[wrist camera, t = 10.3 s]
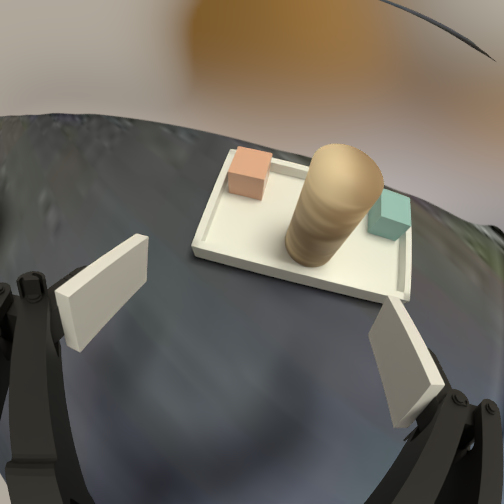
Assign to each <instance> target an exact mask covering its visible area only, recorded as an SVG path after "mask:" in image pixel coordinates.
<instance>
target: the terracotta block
mask: <svg viewBox="0 0 504 504" xmlns="http://www.w3.org/2000/svg"><path fill="white" fill-rule="evenodd" d="M271 160H272V153H268V152H263V151H259V150H254V149H249V148H244V147H239V146H238V148H237V151H236V153H235V155H234V158H233V160H232V163H231V165H230V168H229V170H228V187H229V193H232V194H236V195H240V196H245V197H249V198H253V199H257V200H261V201H262V198H263V195H264V191H265V188H266V184H267V181H268V178H269V174H270V167H271Z"/></svg>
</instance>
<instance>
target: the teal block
mask: <svg viewBox="0 0 504 504" xmlns="http://www.w3.org/2000/svg"><path fill="white" fill-rule="evenodd" d="M410 227H411V210H410V198H408V197H406V196H403V195H400V194H397V193H395V192H392V191H389V190H386V189H383V191H382V194H381V195H380V197H379V198H378V200H377V201H376V202H375V203H374V205H373V206H372V207H371V209H370V210H369V211H368V229H367V233H370V234H374V235H377V236H380V237H383V238H387V239H390V240H393V241H396V240H397V239H398V238H399V237H400V236H402V235H403V234H404V233H405V232H406V231H407V230H408V229H409V228H410Z"/></svg>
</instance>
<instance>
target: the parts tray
mask: <svg viewBox="0 0 504 504" xmlns="http://www.w3.org/2000/svg"><path fill="white" fill-rule="evenodd" d="M236 151H237V150H233V149H230V151H229V153H228V156H227V158H226V160H225V163H224V165H223V167H222V170H221V172H220V174H219V177H218V179H217V182H216V184H215V186H214V189H213V191H212V194H211V196H210V199H209V201H208V204H207V206H206V209H205V211H204V214H203V216H202V219H201V221H200V224H199V226H198V229H197V232H196V234H195V237H194V240H193V242H192V245H191V247H192V249H193V252H194V255H195V256H196V257H199V258H203V259H207V260H211V261H214V262H218V263H222V264H226V265H229V266H233V267H237V268H241V269H245V270H248V271H252V272H256V273H260V274H264V275H268V276H272V277H276V278H279V279H283V280H287V281H291V282H295V283H299V284H303V285H307V286H311V287H315V288H319V289H323V290H328V291H332V292H336V293H340V294H344V295H348V296H352V297H356V298H361V299H365V300H369V301H373V302H378V303H382V304H383V303H384V301H385V299H386V296H387V295H390V296H394V297H399V299H400V301H401V302H402V304H405V303H407V302H409V301H410V287H411V255H412V244H411V227H410V228H409V229H408V230H407V231H406V232H405V233H404V234H403V235H402V236H400V237H399V238H398V239H397V240H396V241H393V240H390V239H387V238H383V237H380V236H377V235H374V234H370V233H367V229H368V213H367V214H366V215H365V217H364V218H363V219H362V220H361V222H360V223H359V224H358V226H357V227H356V228H355V229H354V231H353V232H352V233H351V234H350V236H349V237H348V238H347V239H346V241H345V242H344V243H343V244H342V246H341V247H340V248H339V249H338V251H337V252H336V253H335V254H334V256H333V257H332V258H331V259H330V260H329V261H328V262H327V263H326V264H324V265H322V266H319V267H306V266H303V265H301V264H299V263H297V262H296V261H294V260H293V259H292V258H291V256H290V255H289V254H288V252H287V249H286V246H285V236H286V233H287V230H288V227H289V225H290V222H291V219H292V216H293V213H294V210H295V207H296V205H297V202H298V199H299V196H300V193H301V190H302V187H303V184H304V181H305V179H306V176H307V173H308V170H309V167H307V166H304V165H300V164H296V163H292V162H288V161H284V160H280V159H275V158H272V160H271V167H270V174H269V178H268V181H267V184H266V188H265V191H264V195H263V198H262V201H261V200H257V199H253V198H249V197H245V196H240V195H236V194H232V193H229V187H228V170H229V168H230V165H231V163H232V160H233V158H234V155H235V153H236Z"/></svg>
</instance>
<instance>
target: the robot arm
mask: <svg viewBox="0 0 504 504" xmlns="http://www.w3.org/2000/svg"><path fill="white" fill-rule="evenodd" d="M148 238H149V237H148V236H144V235H140V234H135V235H134V236H132V237H131V238H129V239H127V240H126V241H124V242H123V243H121V244H120V245H118V246H117V247H115V248H114V249H112V250H111V251H109V252H108V253H106V254H105V255H103V256H102V257H101V258H99V259H98V260H96V261H95V262H93V263H92V264H90V265H89V266H83V267H80V268H77V269H75V270H74V271H72V272H71V273H69V275H67V276H65V277H64V278H63V279H61V280H60V281H58V282H57V283H55V284H54V285H53V286H51V287H50V288H49V289H47V285H46V280H45V275H44V274H43V273H40V272H35V271H32V272H27V273H24V274H22V275H21V276H20V277H18V279H17V286H18V290H19V295H20V296H17V295H12V292H11V288H10V285H9V284H7V283H0V419H1V415H2V410H3V406H4V402H5V398H6V394H7V390H8V387H9V425H10V440H11V450H12V460H11V461H10V462H7V463H6V467H5V473H6V480H7V486H8V491H9V496H10V500H11V504H95V503H94V501H93V499H92V497H91V495H90V494H89V492H88V490H87V487H86V485H85V482H84V478H83V475H82V472H81V469H80V465H79V461H78V458H77V454H76V450H75V446H74V442H73V437H72V432H71V427H70V422H69V417H68V411H67V405H66V398H65V390H64V382H63V372H62V359H61V345H60V342H59V340H60V339H61V338H62V337H63V336H65V340H66V344H67V346H69V347H71V348H73V349H74V350H76V351H78V352H81V351H82V350H83V349H84V348H85V346H86V345H87V344H88V343H89V342H90V341H91V340H92V339H93V338H94V336H95V335H96V334H97V333H98V332H99V331H100V330H101V329H102V328H103V326H104V325H105V324H106V323H107V322H108V321H109V320H110V319H111V318H112V317H113V316H114V315H115V314H116V312H117V311H118V310H119V309H120V308H121V307H122V306H123V305H124V304H125V303H126V302H127V301H128V300H129V299H130V298H131V297H132V296H133V295H134V293H135V292H136V291H137V290H138V289H139V288H140V287H141V286H142V285H143V284H144V283H145V282H146V281H147V256H148ZM368 337H369V340H370V343H371V346H372V350H373V353H374V356H375V360H376V363H377V366H378V370H379V373H380V377H381V380H382V384H383V387H384V391H385V395H386V399H387V402H388V406H389V410H390V414H391V419H392V423H393V427H394V428H408V427H409V426H410V425H411V424H412V423H413V422H414V421H415V420H416V421H417V425H418V426H417V427H416V428H415V429H414V430H413V431H412V432H411V433H410V434H409V435H408V436H407V437H406V438H405V439H404V441H406V440H407V439H408V438H409V439H408V440H407V442H406V444H405V445H404V447H403V449H402V450H401V452H400V454H399V455H398V457H397V458H396V460H395V462H394V463H393V465H392V466H391V468H390V469H389V471H388V472H387V474H386V475H385V476H384V478H383V479H382V481H381V482H380V483H379V485H378V486H377V487H376V489H375V490H374V491H373V493H372V494H371V495H370V497H369V498H368V499H367V500H366V502H365V503H364V504H501V500H502V487H503V442H502V428H501V418H500V411H499V408H498V407H497V404H496V403H495V402H494V401H491V400H490V399H484V400H483V401H482V402H481V403H480V404H479V405H478V406H475V405H471V404H469V401H468V399H467V397H466V396H465V395H464V394H463V393H462V392H461V391H459V390H456V389H452V388H451V385H450V383H449V381H448V379H447V377H446V375H445V373H444V371H443V370H442V367H441V365H440V364H439V361H438V359H437V357H436V355H435V354H434V353H433V352H432V351H431V350H430V349H429V348H427V347H426V345H425V343H424V341H423V339H422V338H421V336H420V334H419V332H418V330H417V328H416V327H415V325H414V323H413V321H412V319H411V318H410V316H409V314H408V312H407V311H406V309H405V307H404V306H403V304H402V302H401V301H400V299H399V297H394V296H390V295H387V296H386V299H385V301H384V303H383V305H382V307H381V309H380V311H379V314H378V316H377V318H376V320H375V322H374V324H373V326H372V328H371V330H370V332H369V334H368ZM473 443H474V446H473V448H472V449H471V450H470V445H471V444H473Z"/></svg>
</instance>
